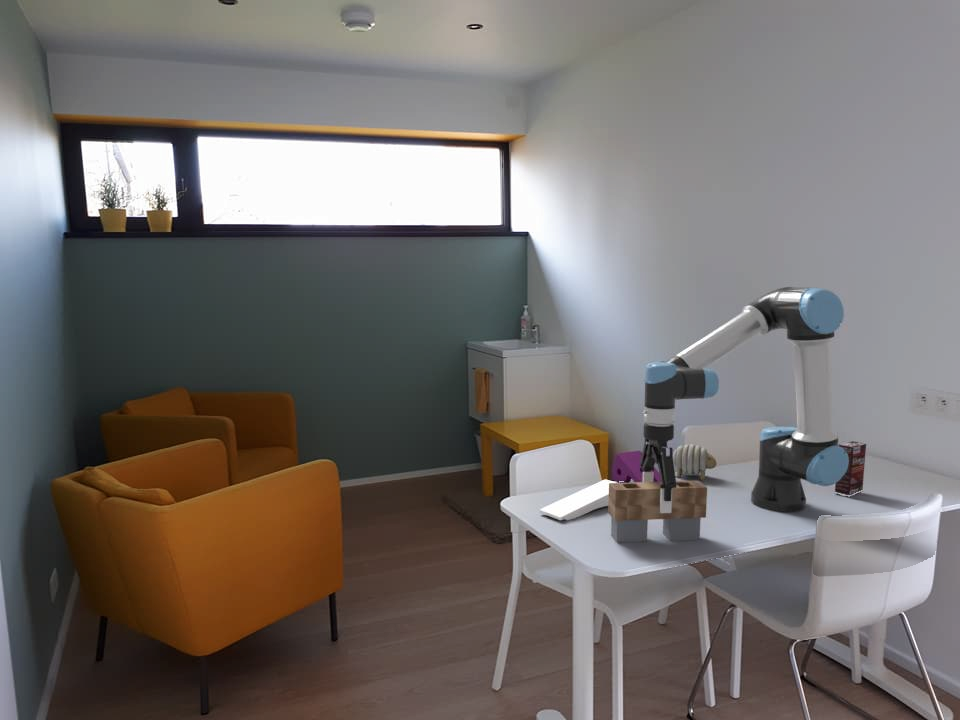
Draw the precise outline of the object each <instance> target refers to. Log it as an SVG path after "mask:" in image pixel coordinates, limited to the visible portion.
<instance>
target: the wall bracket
mask: <svg viewBox="0 0 960 720" xmlns="http://www.w3.org/2000/svg"><path fill="white" fill-rule="evenodd" d="M609 483H617V482H616V481H612V480H608V479H607V478H605V479H603V480H600V481H599V482H596V483H594V484H592V485H590V486H588V487H586V488H583V489H580V490H578V491H577V492H575V493H573V494H571V495H568V496H566V497H564V498H561V499H559V500H557V501H555V502H553V503H551V504H549V505H547V506H544V507H542V508H540V509H539V513H541V514H543V515H545V516H548V517H551V518H553V519H555V520H558V521H562V520H563V521H569V520H573V519H576V517H577V518H579V517H581V516H583V515H585V514H588V513H590V512H591V511H594V510H597V509H600V508H604V507H608V501H609Z"/></svg>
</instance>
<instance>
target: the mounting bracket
mask: <svg viewBox="0 0 960 720" xmlns="http://www.w3.org/2000/svg"><path fill="white" fill-rule="evenodd" d="M642 452H643V451H641V450H635V451H626V452H618V453H616V455H615V457H614V460H613V463H612V465H611V466H612V467H611V473H612V477H613V479H614V482H616V483H618V482H619V481H624V482H620V483H631V481H633V482H643V472H644V471H642V467H640V461H641V456H642ZM654 470H655V471H650V472H654V474H653V482H661V477H660V473H659V470H658V469H657V468H656V467H655V466H654Z"/></svg>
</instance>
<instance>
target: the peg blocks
mask: <svg viewBox="0 0 960 720" xmlns="http://www.w3.org/2000/svg"><path fill="white" fill-rule="evenodd" d="M648 521H649V520H623V521H615V520H614V519H613V518H612V517H611V524H610V525H611V527H610V536H611V537H612V539H613V540H614V541H615V543H616V542H618V543H619V542H621V543H640V542H641V543H642V541H644V542H645V541H647V542H648V528H649V527H648V525H649V523H648ZM662 535H664V536H665V537H666V538H667V539H668V540H669V541H670V540H674V541H693V540H695V541H697V540H700V539H701V538H700V537H701V518H681V519H662ZM644 542H643V543H644Z"/></svg>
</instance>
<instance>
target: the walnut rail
mask: <svg viewBox="0 0 960 720" xmlns="http://www.w3.org/2000/svg"><path fill="white" fill-rule="evenodd" d="M661 485H662V482H634V481H633V482H629V483H618V482H616V483H609V501H608V506H607V508H608V511H607V513H608V515H609V516H610V518H611V519H612V518H613V519H614V520H615V521H623V520H648V521H649V520H663V519H681V518H702V519H703V518H707V501H708V498H707V497H708V487H707V486H706V485H704V483H702V482H701V481H699V480H676V485H677V486H676V488H672V510H671V513H660V493H661V489H660V486H661Z"/></svg>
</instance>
